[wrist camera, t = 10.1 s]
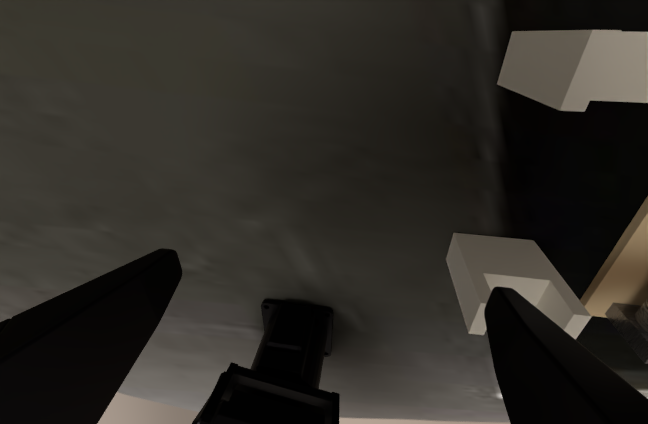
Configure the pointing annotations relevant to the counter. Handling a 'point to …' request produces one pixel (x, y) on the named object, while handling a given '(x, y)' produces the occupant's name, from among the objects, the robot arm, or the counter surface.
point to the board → (622, 270)
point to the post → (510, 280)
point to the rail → (632, 325)
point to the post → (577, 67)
